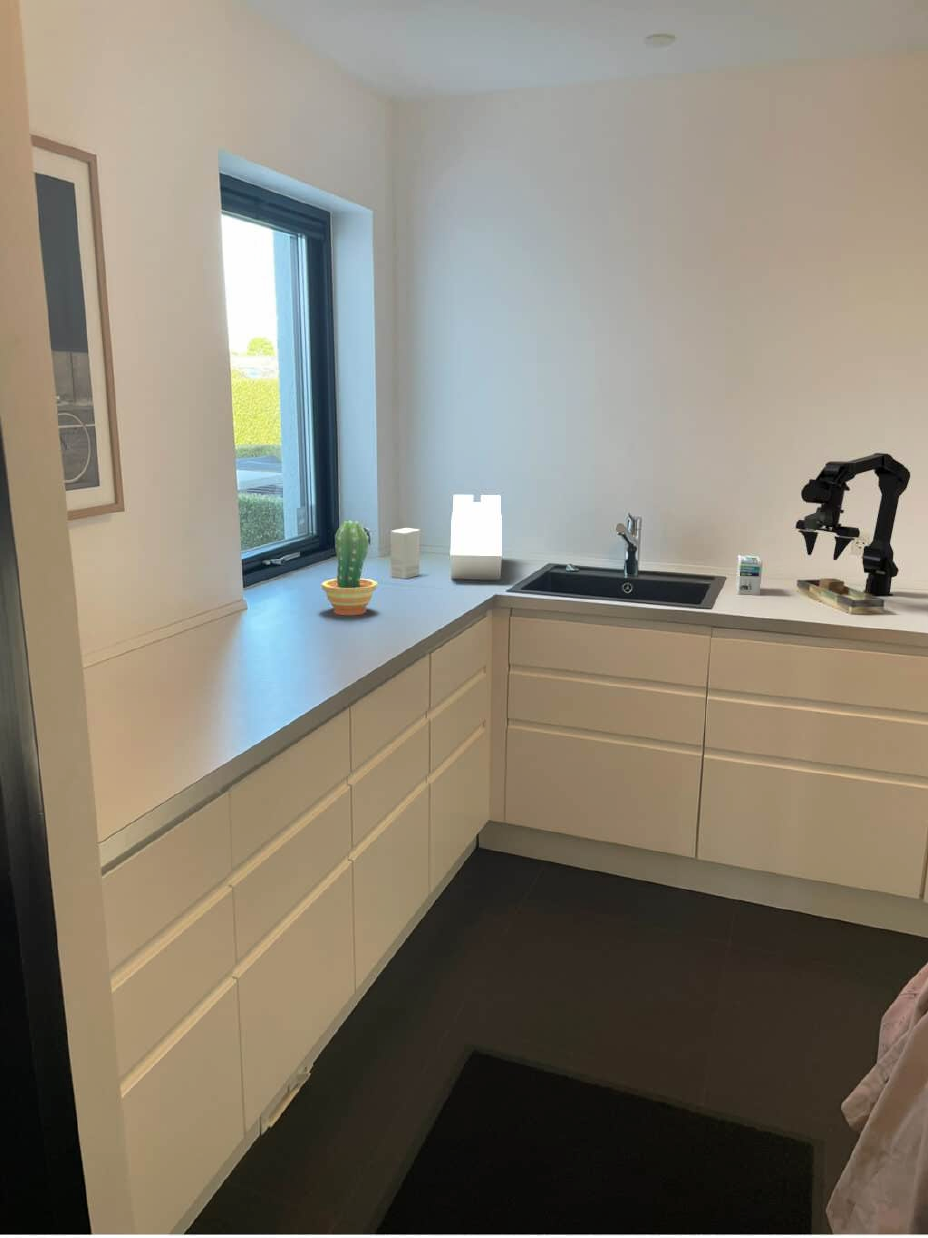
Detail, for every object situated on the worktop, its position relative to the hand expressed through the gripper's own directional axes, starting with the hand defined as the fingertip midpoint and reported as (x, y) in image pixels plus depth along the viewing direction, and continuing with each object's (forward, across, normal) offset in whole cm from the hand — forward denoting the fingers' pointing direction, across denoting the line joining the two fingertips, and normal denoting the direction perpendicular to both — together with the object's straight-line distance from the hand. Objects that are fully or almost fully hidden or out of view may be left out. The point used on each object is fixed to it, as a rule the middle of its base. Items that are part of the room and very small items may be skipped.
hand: (821, 557), depth 274 cm
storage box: (+21, -85, -67) cm, 110 cm away
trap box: (+13, +4, +6) cm, 15 cm away
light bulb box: (+14, -20, -6) cm, 26 cm away
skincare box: (+24, -89, -92) cm, 130 cm away
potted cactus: (+27, -50, -128) cm, 140 cm away
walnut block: (+11, 0, +7) cm, 13 cm away
